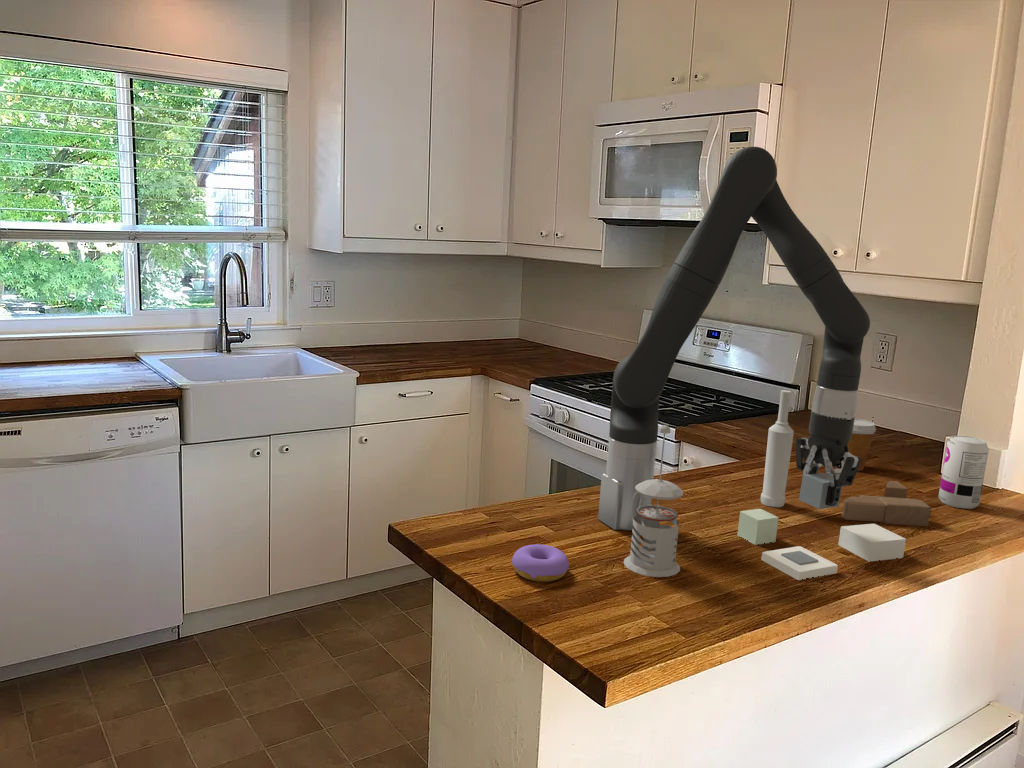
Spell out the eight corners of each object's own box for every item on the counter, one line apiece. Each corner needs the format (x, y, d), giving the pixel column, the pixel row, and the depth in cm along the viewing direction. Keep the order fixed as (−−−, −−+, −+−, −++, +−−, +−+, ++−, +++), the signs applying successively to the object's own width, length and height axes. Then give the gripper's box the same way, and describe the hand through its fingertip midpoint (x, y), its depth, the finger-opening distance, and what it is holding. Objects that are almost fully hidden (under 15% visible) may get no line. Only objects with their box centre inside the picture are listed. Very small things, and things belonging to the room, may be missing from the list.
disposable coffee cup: (871, 475, 206) (878, 428, 204) (831, 469, 209) (837, 423, 207) (868, 465, 215) (875, 420, 213) (829, 459, 218) (835, 415, 215)
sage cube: (755, 545, 156) (758, 520, 155) (737, 535, 160) (740, 511, 159) (775, 542, 158) (778, 517, 157) (757, 532, 162) (760, 508, 161)
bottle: (786, 508, 177) (800, 394, 172) (761, 506, 178) (774, 392, 173) (783, 501, 182) (797, 389, 177) (759, 498, 183) (772, 387, 178)
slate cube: (819, 509, 151) (823, 482, 150) (798, 499, 156) (802, 474, 155) (839, 506, 153) (843, 481, 152) (818, 497, 158) (822, 472, 157)
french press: (643, 580, 137) (656, 434, 133) (607, 553, 148) (619, 417, 143) (692, 573, 141) (707, 431, 136) (654, 547, 152) (667, 414, 147)
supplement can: (933, 502, 187) (943, 438, 184) (944, 495, 193) (954, 432, 190) (972, 512, 182) (984, 446, 179) (982, 504, 188) (994, 440, 185)
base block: (868, 563, 151) (871, 542, 150) (838, 546, 158) (840, 526, 157) (902, 559, 154) (906, 539, 153) (871, 543, 161) (874, 523, 160)
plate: (798, 580, 141) (799, 570, 140) (761, 559, 149) (762, 550, 148) (836, 573, 145) (838, 563, 144) (798, 553, 153) (799, 544, 152)
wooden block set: (937, 503, 170) (848, 497, 171) (932, 529, 171) (844, 523, 172) (902, 477, 187) (822, 472, 187) (899, 501, 188) (818, 495, 189)
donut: (577, 582, 135) (573, 555, 134) (522, 595, 133) (517, 568, 132) (561, 557, 144) (557, 531, 143) (509, 569, 143) (505, 543, 142)
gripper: (789, 402, 156) (776, 489, 159) (849, 422, 143) (834, 515, 146) (818, 401, 159) (806, 486, 162) (880, 420, 146) (864, 511, 150)
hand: (819, 499), depth 154 cm, fingers closed on slate cube, 5 cm apart
